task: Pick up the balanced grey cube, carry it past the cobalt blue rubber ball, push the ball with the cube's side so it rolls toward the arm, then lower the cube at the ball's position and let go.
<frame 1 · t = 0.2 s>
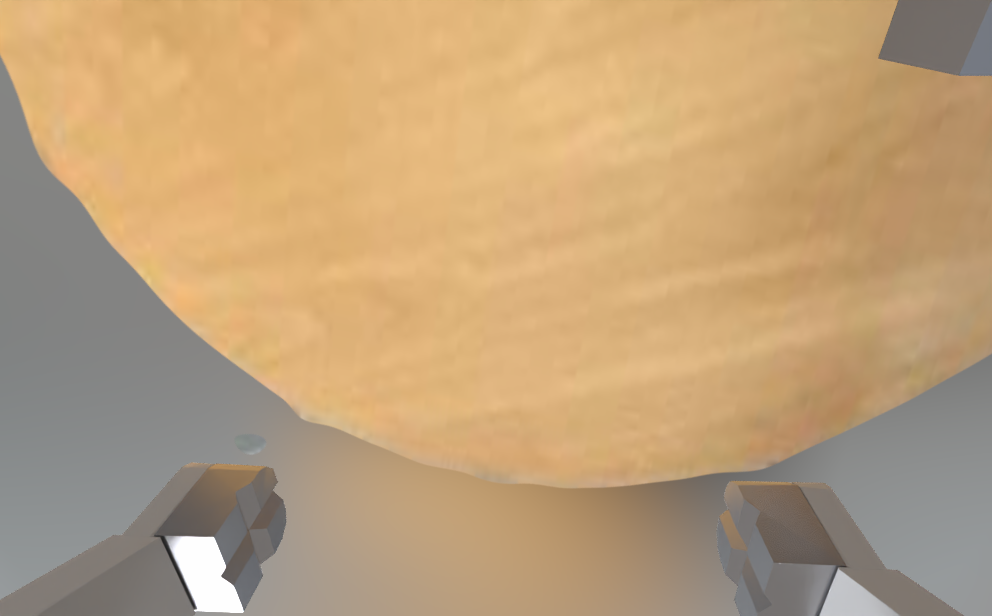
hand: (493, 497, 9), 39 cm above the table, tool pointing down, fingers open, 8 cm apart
balanced grey cube: (948, 4, 36), on the table
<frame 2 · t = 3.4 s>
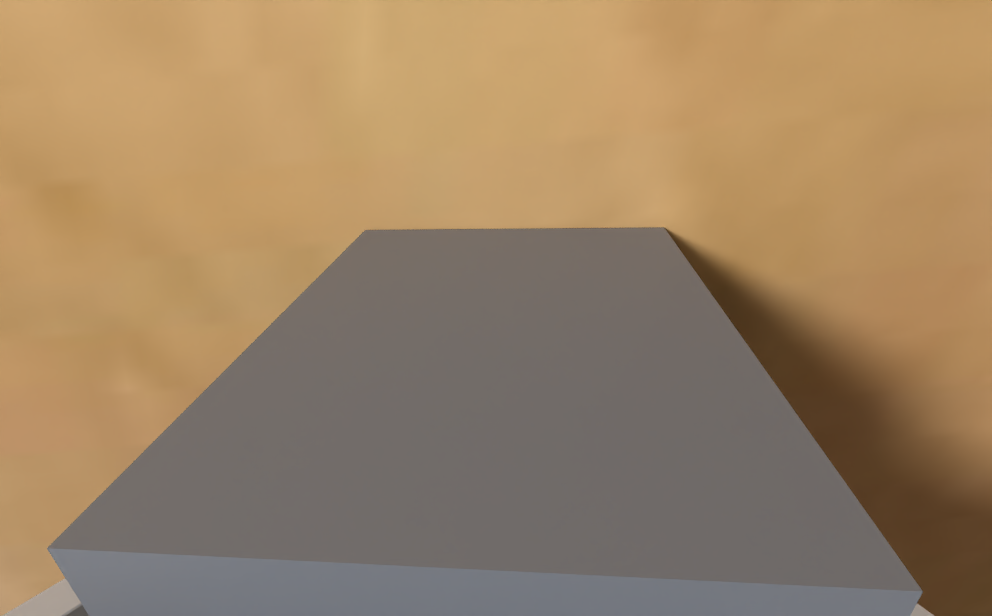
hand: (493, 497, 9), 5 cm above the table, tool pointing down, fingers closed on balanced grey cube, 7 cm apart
balanced grey cube: (513, 356, 13), on the table, touching gripper
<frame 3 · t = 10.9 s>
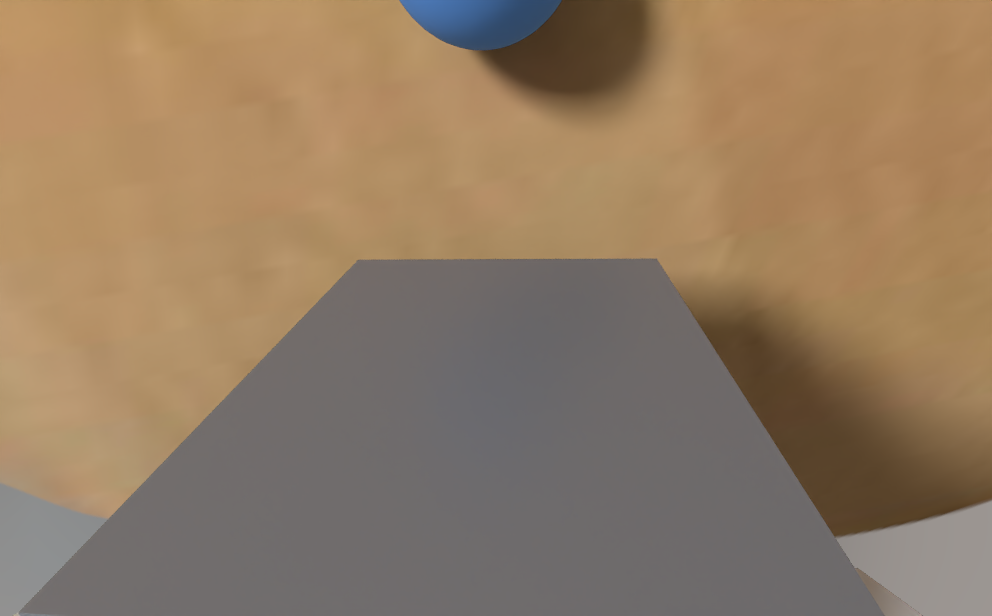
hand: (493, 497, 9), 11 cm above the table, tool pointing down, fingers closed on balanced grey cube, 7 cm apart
balanced grey cube: (507, 385, 13), point 7 cm above the table, touching gripper
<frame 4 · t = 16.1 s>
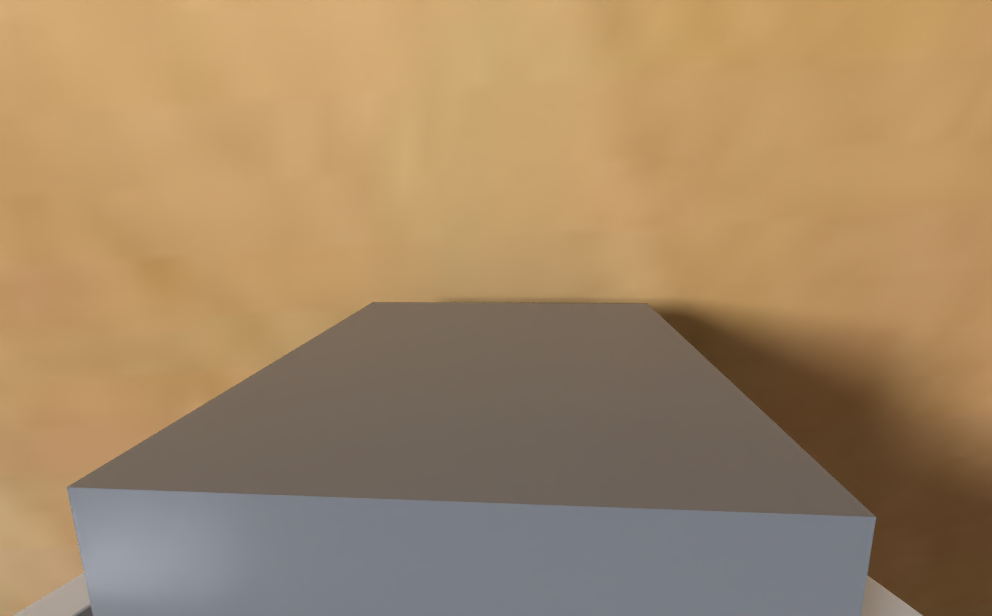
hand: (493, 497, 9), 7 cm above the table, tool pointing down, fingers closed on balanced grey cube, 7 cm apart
balanced grey cube: (507, 430, 14), point 3 cm above the table, tilted 15°, touching ball, gripper
when the fingers open (5 cm above the table, at t = 17.1 s): balanced grey cube drops 2 cm, on the table.
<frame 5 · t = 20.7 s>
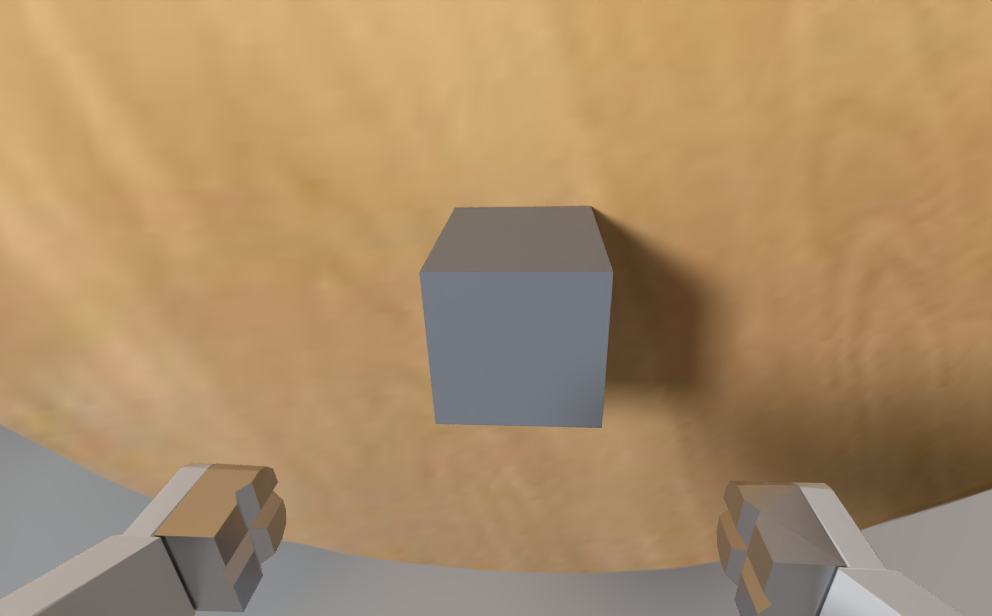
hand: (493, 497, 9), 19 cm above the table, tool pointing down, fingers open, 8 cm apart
balanced grey cube: (522, 270, 28), on the table
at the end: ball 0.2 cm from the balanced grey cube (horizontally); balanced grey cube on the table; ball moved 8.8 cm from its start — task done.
